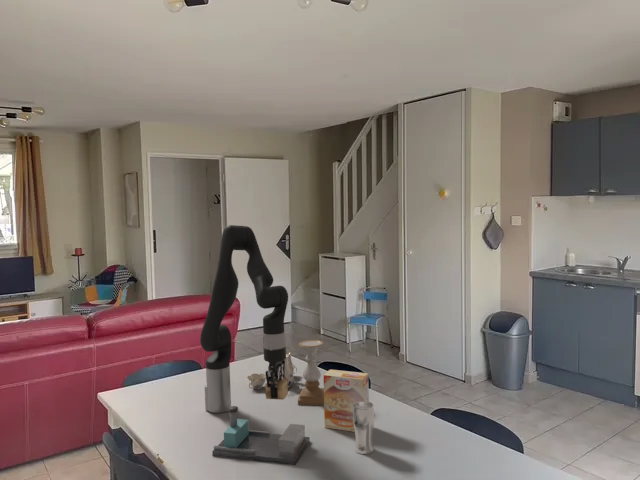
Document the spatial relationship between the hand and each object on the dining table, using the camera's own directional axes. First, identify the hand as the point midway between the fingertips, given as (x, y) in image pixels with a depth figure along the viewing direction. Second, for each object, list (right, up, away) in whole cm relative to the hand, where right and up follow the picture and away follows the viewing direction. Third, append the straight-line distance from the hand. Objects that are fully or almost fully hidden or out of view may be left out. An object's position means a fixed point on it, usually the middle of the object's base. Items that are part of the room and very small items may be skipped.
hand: (276, 395), depth 173 cm
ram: (-14, -15, -1) cm, 20 cm away
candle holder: (+11, -14, +38) cm, 42 cm away
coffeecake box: (+24, -15, +12) cm, 31 cm away
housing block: (0, 0, 0) cm, 0 cm away
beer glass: (+29, -16, -6) cm, 34 cm away
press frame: (-5, -17, -4) cm, 18 cm away
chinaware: (-5, -13, +58) cm, 59 cm away
